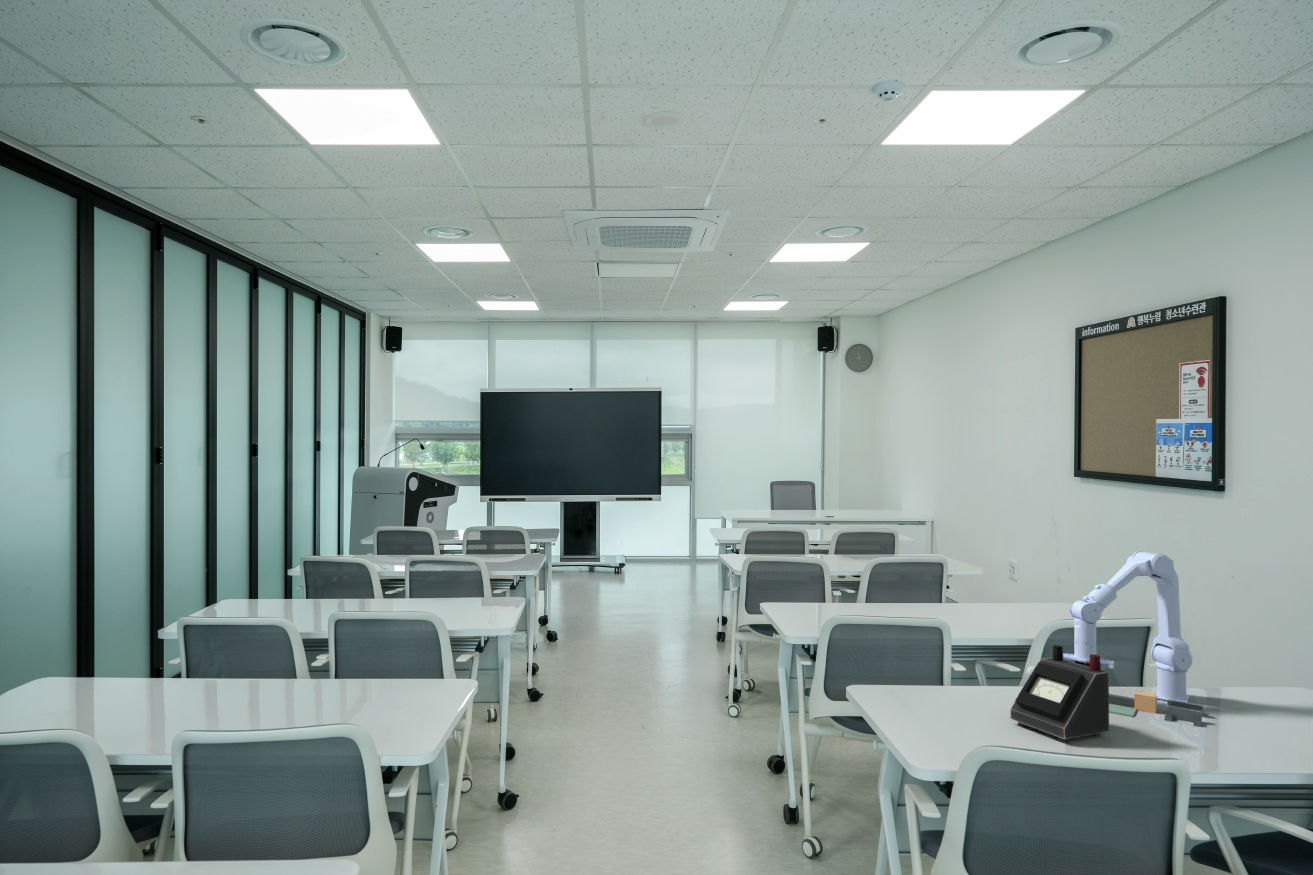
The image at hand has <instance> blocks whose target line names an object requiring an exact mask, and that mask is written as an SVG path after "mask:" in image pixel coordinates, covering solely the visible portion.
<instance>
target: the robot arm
mask: <svg viewBox="0 0 1313 875" xmlns="http://www.w3.org/2000/svg"><path fill="white" fill-rule="evenodd" d="M1174 565H1175V564H1174V560H1173V559H1171V558H1170V557H1169V556H1167V555H1166V554H1163V553H1156V552H1155V553H1154V552H1148V551H1143V550H1137V551H1135V552H1133V554H1131V556H1129V557H1128V558H1127V559H1126V563H1125V564H1124V565H1123V566H1122V567H1121V568H1120V569H1119V570H1118V572H1116V573H1115V574H1114V575H1113V576H1112V578H1110V579H1109V581H1107V583H1099V584H1095V586H1093V588H1094V589H1092V590H1091V591H1090V592H1088V594H1086V595H1084V596H1083V597H1082V600H1075V601H1074V603H1073V604H1072V605H1071V608H1069V613H1070V616H1071V617H1072V618H1073V623H1074V624H1073V626H1074V630H1073V631H1074V632H1073V633H1074V634H1073V636H1074V637H1073V638H1074V639H1073V641H1074V644H1073V646H1074V653H1067V652H1066V653H1064V652H1063V660H1065V661H1069V662H1073V663H1077V664H1080V665H1084V666H1088V667H1089V661H1090V654H1095V655H1097V622H1098V621H1100V619H1101V618H1102V613H1103V612H1104V610H1105V609H1107V607H1108V606H1109V605H1111V604H1112V603H1113V602H1114V601H1116V599H1117V598H1118V594H1117V593H1118V592H1119V591H1120V590H1121V589H1122V588H1124V587H1126V585H1128V584H1129V583H1130V582H1132V581H1134V579H1136V578H1137V577H1149V578H1150V579H1151V580H1153V581H1154V582H1155V583H1156V596H1157V597H1156V598H1157V620H1158V622H1157V623H1158V635H1157V636H1155V637H1154V638H1153V639H1152V640H1153V642H1152V647H1151V649H1150V657H1151V658H1152V659H1153V660H1152V661H1154V662H1155V666H1156V686H1157V687H1156V691H1155V694H1157V700H1162V701H1167V702H1168V699H1170V700H1176V701H1182V702H1188V703H1189V698H1190V695H1189V694H1187V672H1189V671H1188V670H1189V669H1190V668H1191V667H1192V665H1193V656H1192V654H1191V652H1190V646H1189V644H1188V642H1186V641H1185V639H1183V637H1182V634H1181V633H1182V632H1181V630H1182V628H1181V612H1180V611H1181V609H1180V585H1179V584H1180V583H1179V582H1180V581H1179V576H1178V573H1177V571H1176V569H1175V567H1174ZM1100 662H1101V667H1103V668H1109V669H1112V670H1113V669H1115V661H1114V660H1110V659H1106V658H1101V657H1100Z"/></svg>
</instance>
